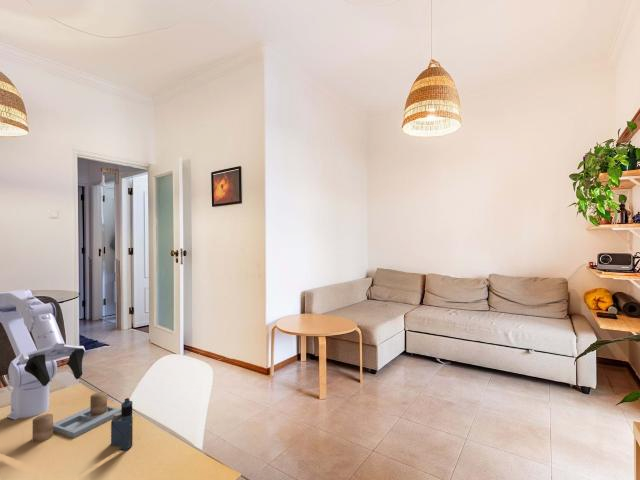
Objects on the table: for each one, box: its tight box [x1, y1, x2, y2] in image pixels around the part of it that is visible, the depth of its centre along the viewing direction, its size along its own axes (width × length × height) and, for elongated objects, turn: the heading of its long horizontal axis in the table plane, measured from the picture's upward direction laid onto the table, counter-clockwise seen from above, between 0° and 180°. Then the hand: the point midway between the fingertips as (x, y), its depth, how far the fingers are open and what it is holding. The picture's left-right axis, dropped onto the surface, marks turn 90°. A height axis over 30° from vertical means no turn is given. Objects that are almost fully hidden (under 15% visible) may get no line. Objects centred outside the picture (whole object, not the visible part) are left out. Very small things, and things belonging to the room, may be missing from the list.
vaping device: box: [110, 397, 134, 452], centre depth 82 cm, size 3×5×12 cm, turn 78°
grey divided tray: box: [53, 404, 121, 439], centre depth 92 cm, size 10×13×2 cm
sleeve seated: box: [89, 391, 108, 418], centre depth 95 cm, size 4×4×6 cm
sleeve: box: [31, 413, 54, 444], centre depth 84 cm, size 4×4×6 cm
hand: (63, 379), depth 86 cm, fingers open, 7 cm apart
